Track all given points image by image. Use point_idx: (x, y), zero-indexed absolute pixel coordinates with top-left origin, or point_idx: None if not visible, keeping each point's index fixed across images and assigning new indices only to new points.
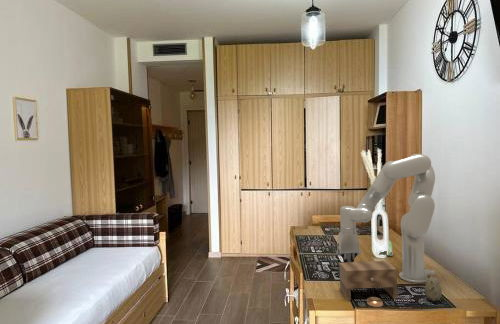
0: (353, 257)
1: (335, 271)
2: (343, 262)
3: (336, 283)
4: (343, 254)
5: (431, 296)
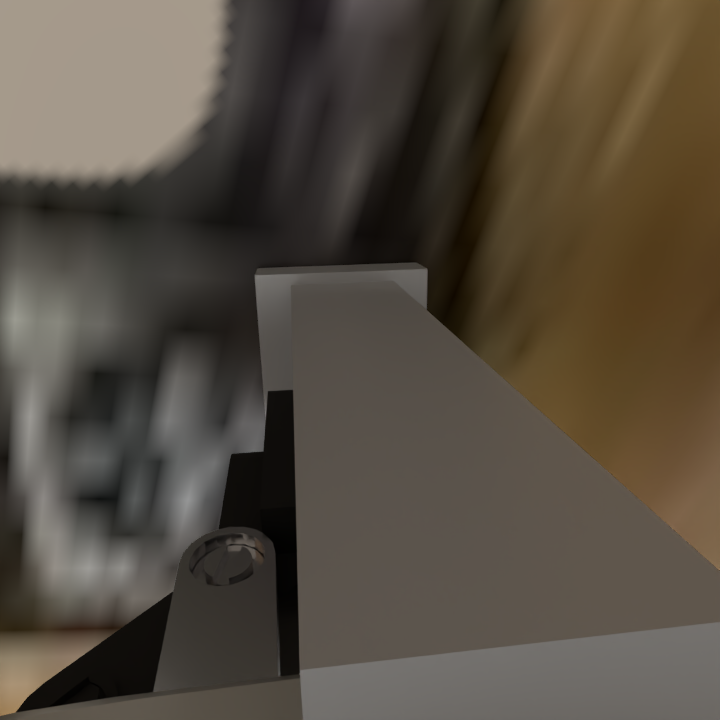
0: None
1: (88, 288)
2: (229, 472)
3: None
4: (204, 674)
5: None
